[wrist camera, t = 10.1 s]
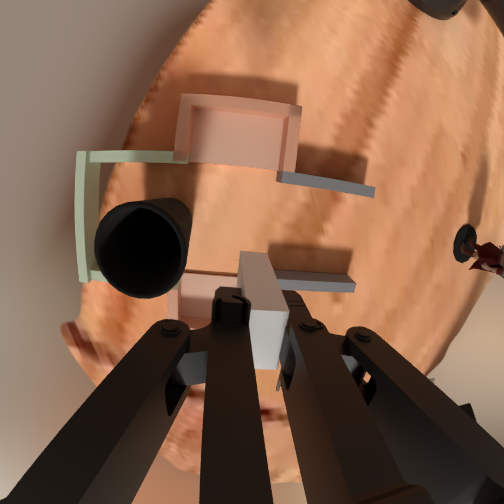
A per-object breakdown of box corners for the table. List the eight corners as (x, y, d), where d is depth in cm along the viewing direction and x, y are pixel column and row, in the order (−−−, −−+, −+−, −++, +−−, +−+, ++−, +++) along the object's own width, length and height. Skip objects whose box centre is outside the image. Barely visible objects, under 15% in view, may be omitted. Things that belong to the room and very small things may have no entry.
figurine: (473, 217, 34) (539, 242, 20) (477, 254, 36) (536, 284, 22) (450, 235, 35) (520, 266, 20) (455, 272, 37) (516, 310, 23)
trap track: (369, 129, 29) (386, 126, 25) (332, 329, 37) (342, 345, 33) (99, 103, 25) (84, 96, 22) (98, 311, 33) (86, 326, 29)
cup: (128, 236, 31) (83, 272, 19) (153, 177, 29) (111, 185, 18) (184, 263, 32) (165, 314, 21) (212, 206, 31) (204, 230, 19)
